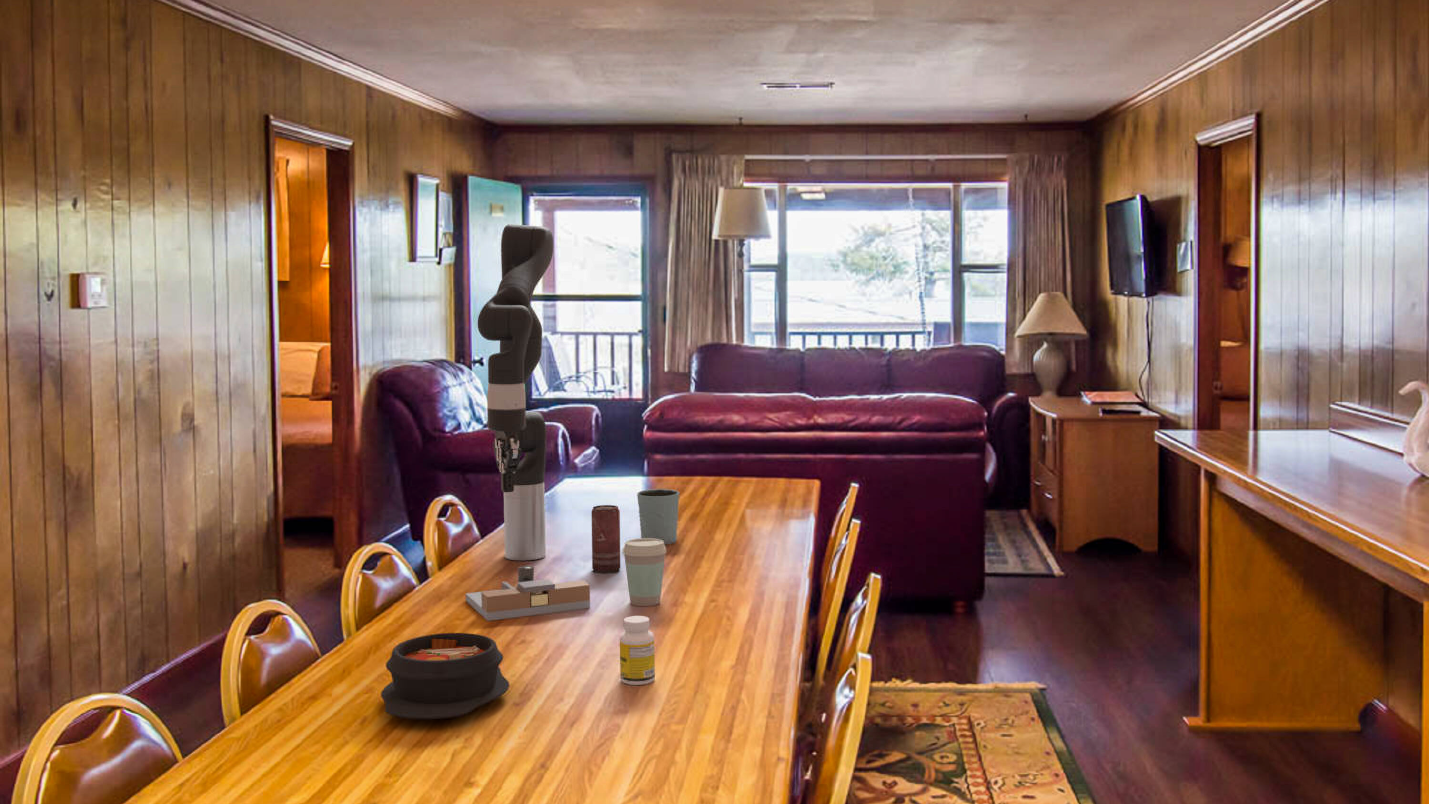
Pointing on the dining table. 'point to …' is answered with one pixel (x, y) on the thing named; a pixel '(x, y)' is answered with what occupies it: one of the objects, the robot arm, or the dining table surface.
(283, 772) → the dining table surface
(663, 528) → the grey tapered cup
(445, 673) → the casserole
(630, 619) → the supplement bottle
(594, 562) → the can
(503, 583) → the door plate
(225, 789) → the dining table surface
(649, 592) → the coffee cup
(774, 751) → the dining table surface
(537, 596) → the bolt
